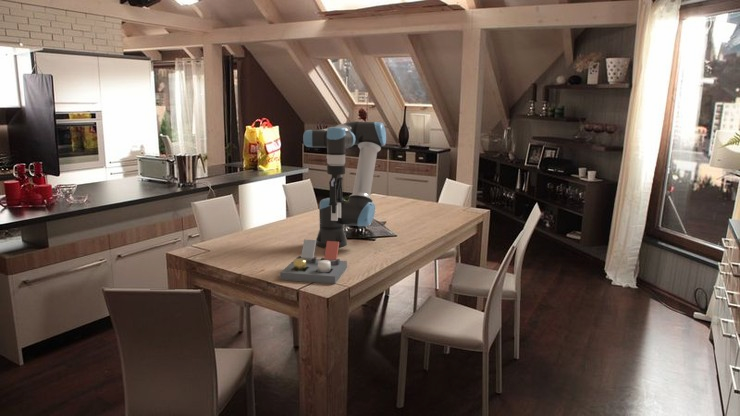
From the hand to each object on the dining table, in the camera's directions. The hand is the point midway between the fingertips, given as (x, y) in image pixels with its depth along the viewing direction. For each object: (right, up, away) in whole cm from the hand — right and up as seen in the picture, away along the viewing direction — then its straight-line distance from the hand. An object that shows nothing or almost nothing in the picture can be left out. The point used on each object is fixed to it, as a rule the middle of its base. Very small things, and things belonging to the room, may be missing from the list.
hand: (336, 218), depth 214 cm
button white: (-4, -20, -15) cm, 25 cm away
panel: (-8, -22, -10) cm, 25 cm away
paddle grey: (-12, -17, -5) cm, 21 cm away
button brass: (-14, -20, -13) cm, 27 cm away
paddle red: (-2, -17, -6) cm, 19 cm away
